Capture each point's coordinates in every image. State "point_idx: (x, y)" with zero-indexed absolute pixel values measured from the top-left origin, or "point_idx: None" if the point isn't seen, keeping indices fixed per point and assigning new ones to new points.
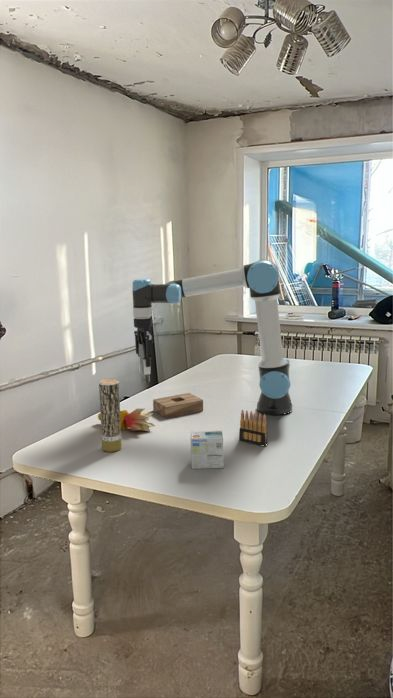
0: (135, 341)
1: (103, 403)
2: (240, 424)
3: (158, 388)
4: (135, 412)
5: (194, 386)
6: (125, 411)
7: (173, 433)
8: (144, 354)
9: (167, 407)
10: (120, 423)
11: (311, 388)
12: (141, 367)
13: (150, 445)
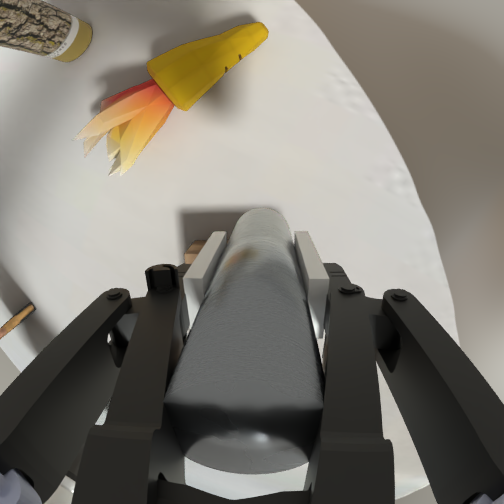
0: (481, 385)
1: None
2: (12, 319)
3: None
4: (103, 109)
5: (392, 405)
6: (162, 86)
7: (84, 206)
8: (160, 309)
9: (186, 259)
10: (26, 51)
11: (235, 495)
12: (241, 237)
13: (50, 128)
